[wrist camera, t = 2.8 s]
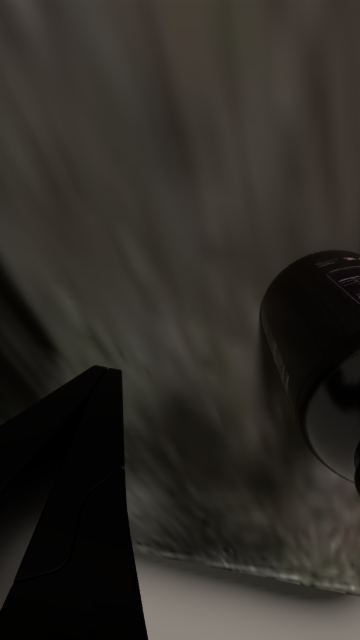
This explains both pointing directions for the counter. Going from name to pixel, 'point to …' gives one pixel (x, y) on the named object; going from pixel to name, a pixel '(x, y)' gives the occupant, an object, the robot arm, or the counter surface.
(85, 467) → the robot arm
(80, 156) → the counter surface
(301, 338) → the supplement bottle
